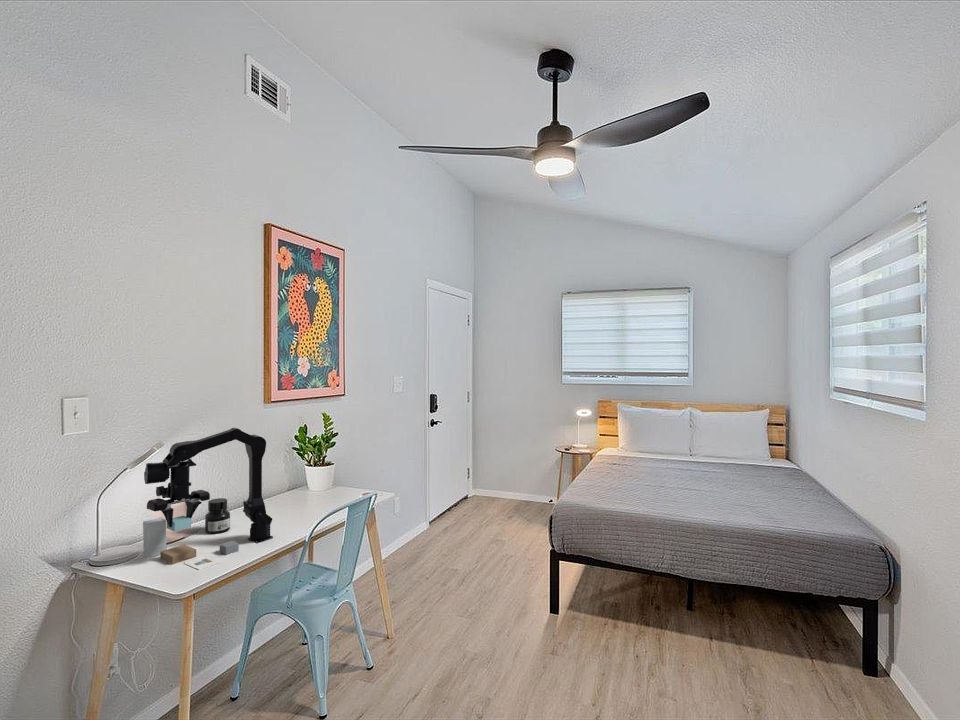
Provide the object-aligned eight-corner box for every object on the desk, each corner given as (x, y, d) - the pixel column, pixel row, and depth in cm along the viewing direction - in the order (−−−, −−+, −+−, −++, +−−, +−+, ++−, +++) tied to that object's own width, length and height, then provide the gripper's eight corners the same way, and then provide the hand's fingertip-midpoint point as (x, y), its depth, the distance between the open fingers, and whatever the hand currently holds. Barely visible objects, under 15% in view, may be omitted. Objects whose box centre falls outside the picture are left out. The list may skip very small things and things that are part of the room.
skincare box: (161, 550, 187) (161, 517, 187) (166, 553, 184) (166, 519, 184) (142, 555, 182) (142, 521, 182) (147, 558, 180) (147, 523, 179)
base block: (184, 552, 186) (184, 544, 186) (196, 557, 182) (196, 549, 182) (160, 560, 179) (160, 551, 179) (172, 565, 175) (172, 556, 175)
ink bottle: (208, 536, 201) (208, 505, 201) (200, 530, 207) (200, 500, 207) (234, 530, 208) (234, 500, 208) (226, 525, 214) (226, 496, 214)
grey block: (231, 548, 190) (231, 540, 190) (238, 551, 187) (238, 543, 187) (219, 552, 186) (219, 544, 186) (226, 555, 183) (226, 547, 183)
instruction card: (204, 556, 182) (204, 555, 182) (219, 562, 177) (219, 561, 177) (184, 563, 176) (184, 562, 176) (198, 569, 171) (198, 569, 171)
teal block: (183, 524, 185) (183, 515, 184) (191, 527, 181) (191, 518, 181) (166, 528, 180) (166, 519, 180) (174, 531, 177) (174, 522, 177)
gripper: (194, 471, 193) (193, 514, 193) (139, 481, 177) (138, 527, 177) (211, 476, 187) (210, 519, 187) (155, 486, 171) (154, 534, 171)
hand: (179, 524), depth 181 cm, fingers closed on teal block, 5 cm apart
